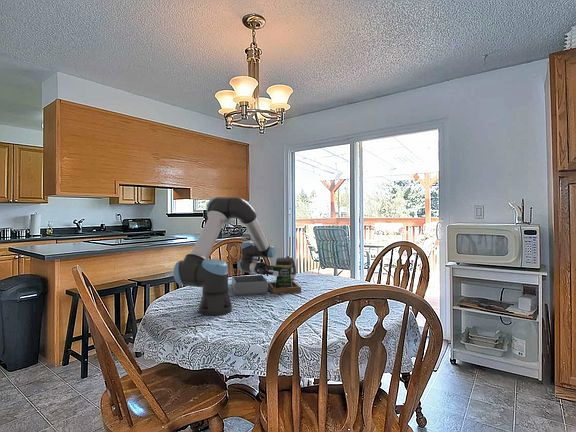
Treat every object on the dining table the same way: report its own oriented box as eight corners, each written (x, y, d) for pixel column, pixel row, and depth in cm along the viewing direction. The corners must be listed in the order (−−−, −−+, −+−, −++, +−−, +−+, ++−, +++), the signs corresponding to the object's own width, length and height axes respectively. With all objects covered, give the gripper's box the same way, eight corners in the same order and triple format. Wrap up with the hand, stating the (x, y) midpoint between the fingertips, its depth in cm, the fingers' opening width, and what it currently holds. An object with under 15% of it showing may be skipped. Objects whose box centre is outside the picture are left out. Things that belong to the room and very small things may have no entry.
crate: (267, 294, 187) (267, 281, 187) (234, 296, 183) (234, 283, 182) (262, 286, 204) (261, 274, 204) (231, 288, 200) (231, 276, 200)
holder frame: (301, 292, 191) (301, 286, 191) (273, 294, 187) (273, 288, 187) (293, 285, 206) (293, 280, 206) (267, 287, 202) (267, 282, 202)
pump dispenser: (278, 277, 229) (278, 255, 228) (292, 276, 233) (292, 254, 232) (284, 281, 219) (284, 257, 219) (299, 279, 224) (299, 256, 223)
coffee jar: (275, 291, 193) (274, 258, 192) (276, 288, 201) (276, 256, 200) (292, 291, 192) (291, 259, 192) (292, 288, 200) (292, 256, 200)
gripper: (272, 270, 219) (298, 275, 206) (244, 277, 199) (271, 282, 186) (272, 259, 219) (298, 262, 206) (244, 264, 199) (271, 268, 186)
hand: (285, 272), depth 196 cm, fingers open, 13 cm apart
